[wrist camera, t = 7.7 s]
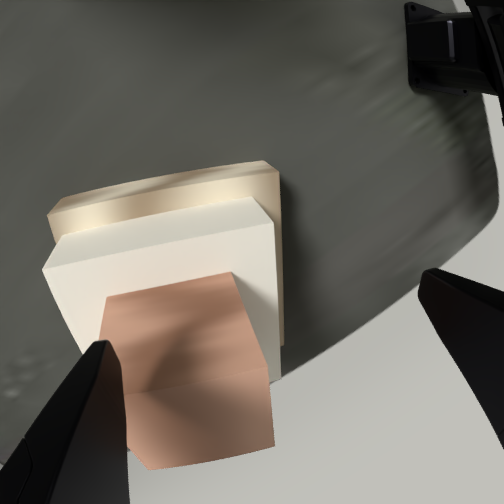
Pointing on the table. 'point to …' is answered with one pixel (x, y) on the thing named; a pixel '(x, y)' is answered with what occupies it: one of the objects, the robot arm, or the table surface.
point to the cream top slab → (170, 265)
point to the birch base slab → (176, 202)
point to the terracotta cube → (189, 372)
